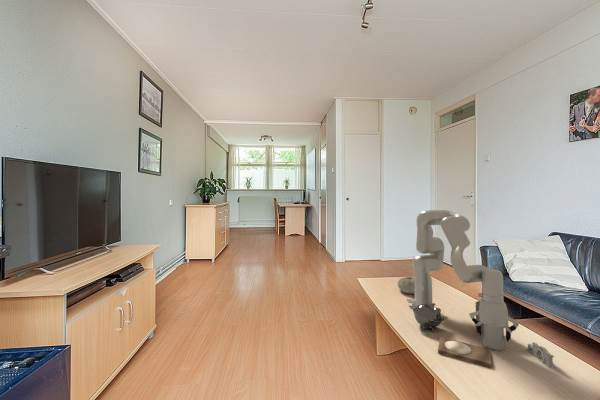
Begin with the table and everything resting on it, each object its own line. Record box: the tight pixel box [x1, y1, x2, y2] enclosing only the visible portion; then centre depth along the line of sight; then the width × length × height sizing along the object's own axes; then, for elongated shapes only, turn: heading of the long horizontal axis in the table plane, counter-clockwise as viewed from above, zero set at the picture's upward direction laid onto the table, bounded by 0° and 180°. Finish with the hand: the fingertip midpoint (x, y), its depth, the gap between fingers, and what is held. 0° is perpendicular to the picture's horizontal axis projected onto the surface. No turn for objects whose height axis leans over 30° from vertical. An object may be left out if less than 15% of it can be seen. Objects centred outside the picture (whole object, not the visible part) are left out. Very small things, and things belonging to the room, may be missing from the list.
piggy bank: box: [412, 302, 445, 331], centre depth 129 cm, size 11×15×12 cm
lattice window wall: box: [527, 341, 555, 369], centre depth 102 cm, size 12×2×6 cm, turn 170°
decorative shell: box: [397, 276, 415, 295], centre depth 179 cm, size 18×18×10 cm
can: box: [482, 322, 505, 351], centre depth 111 cm, size 8×8×12 cm
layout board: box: [437, 336, 492, 368], centre depth 107 cm, size 18×12×2 cm, turn 57°
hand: (493, 337), depth 111 cm, fingers open, 9 cm apart
